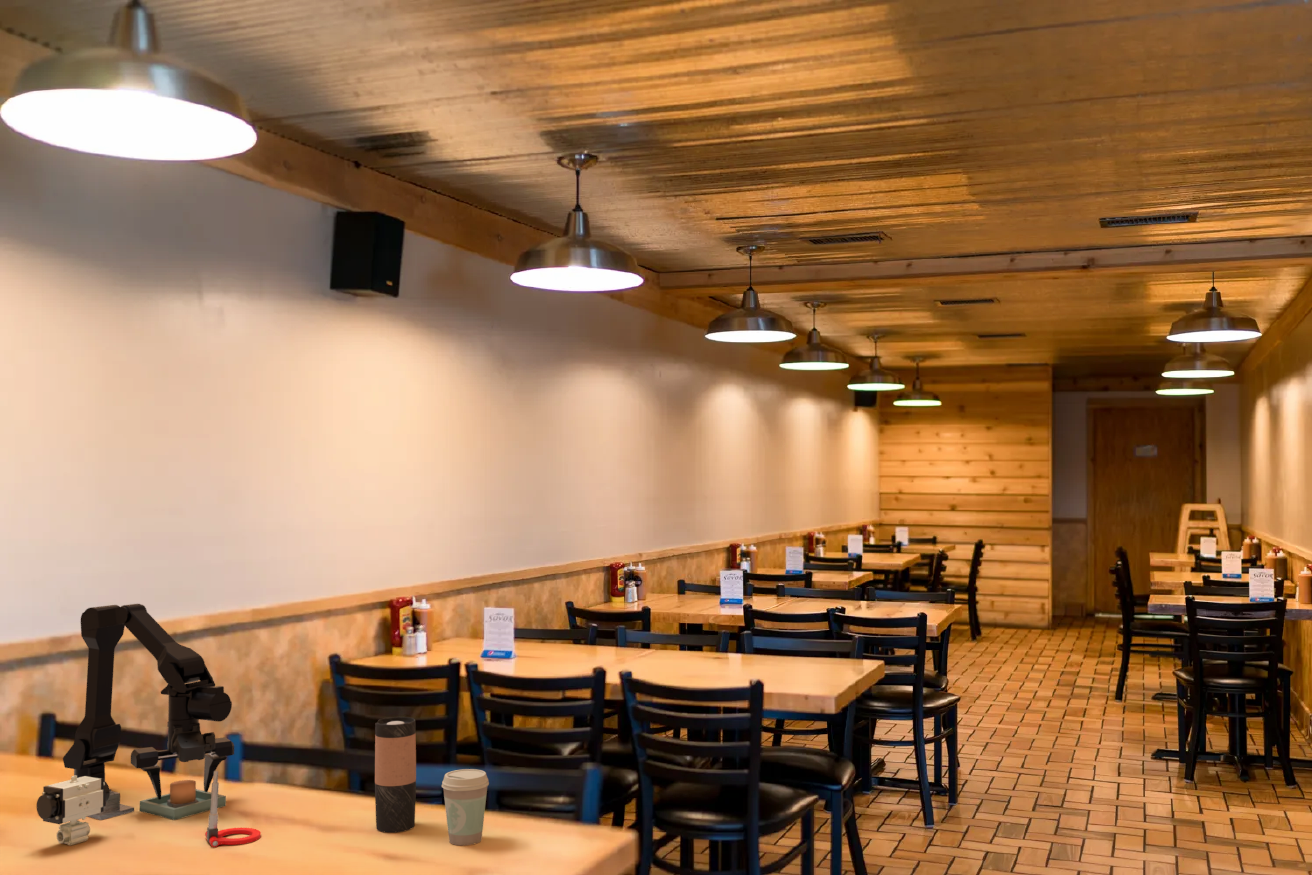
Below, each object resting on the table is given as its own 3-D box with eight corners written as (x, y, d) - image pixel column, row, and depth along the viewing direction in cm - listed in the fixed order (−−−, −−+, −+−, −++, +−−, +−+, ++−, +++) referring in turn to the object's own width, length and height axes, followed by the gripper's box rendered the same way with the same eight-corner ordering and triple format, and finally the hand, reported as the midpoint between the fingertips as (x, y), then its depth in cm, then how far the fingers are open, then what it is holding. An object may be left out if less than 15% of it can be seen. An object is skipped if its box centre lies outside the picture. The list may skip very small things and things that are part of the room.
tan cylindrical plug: (173, 810, 228) (173, 787, 228) (167, 804, 232) (167, 782, 232) (198, 805, 231) (198, 783, 231) (191, 800, 234) (192, 778, 235)
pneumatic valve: (35, 849, 206) (35, 781, 206) (93, 831, 216) (94, 767, 216) (54, 853, 203) (55, 785, 204) (113, 835, 213) (113, 770, 214)
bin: (139, 811, 230) (139, 800, 230) (191, 797, 239) (191, 787, 239) (174, 819, 223) (174, 809, 223) (225, 805, 233) (225, 795, 233)
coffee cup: (436, 837, 211) (436, 771, 211) (482, 831, 214) (482, 766, 215) (447, 850, 203) (447, 782, 204) (494, 844, 206) (494, 776, 207)
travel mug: (424, 826, 217) (424, 720, 218) (389, 835, 212) (389, 726, 213) (400, 818, 223) (400, 714, 223) (366, 827, 217) (366, 721, 218)
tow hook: (255, 831, 217) (203, 837, 212) (259, 762, 218) (207, 766, 213) (264, 843, 210) (211, 849, 205) (268, 772, 210) (215, 776, 206)
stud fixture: (80, 814, 227) (81, 795, 228) (114, 806, 233) (114, 787, 233) (100, 820, 223) (100, 800, 224) (134, 811, 229) (134, 792, 229)
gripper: (143, 730, 220) (142, 812, 219) (242, 717, 231) (242, 796, 230) (130, 720, 229) (129, 799, 228) (226, 709, 240) (226, 784, 239)
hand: (182, 795), depth 231 cm, fingers open, 9 cm apart
